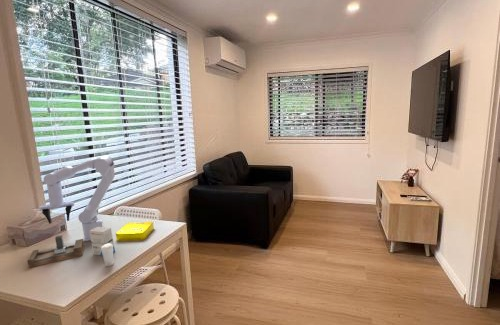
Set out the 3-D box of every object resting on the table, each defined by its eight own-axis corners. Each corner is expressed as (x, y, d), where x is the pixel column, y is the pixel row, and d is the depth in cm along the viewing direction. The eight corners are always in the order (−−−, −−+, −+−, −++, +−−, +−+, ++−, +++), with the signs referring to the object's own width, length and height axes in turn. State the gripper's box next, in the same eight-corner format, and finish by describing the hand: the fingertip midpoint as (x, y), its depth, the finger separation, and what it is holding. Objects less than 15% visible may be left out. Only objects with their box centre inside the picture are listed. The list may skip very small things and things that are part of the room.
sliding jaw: (67, 248, 133) (64, 233, 132) (65, 253, 128) (62, 238, 127) (57, 250, 132) (54, 235, 130) (55, 255, 126) (52, 240, 125)
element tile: (155, 228, 157) (154, 220, 156) (144, 240, 142) (143, 231, 141) (128, 229, 157) (127, 221, 156) (115, 242, 142) (113, 233, 141)
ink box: (115, 251, 131) (111, 227, 129) (107, 256, 127) (103, 232, 125) (101, 249, 134) (97, 226, 132) (92, 254, 130) (88, 230, 128)
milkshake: (104, 262, 122) (100, 240, 120) (117, 261, 122) (113, 239, 120) (99, 268, 117) (96, 245, 116) (113, 266, 118) (109, 244, 116)
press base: (84, 246, 138) (82, 238, 138) (82, 255, 129) (80, 247, 129) (34, 257, 130) (32, 249, 129) (28, 267, 121) (26, 258, 120)
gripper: (36, 200, 136) (40, 227, 138) (71, 195, 142) (75, 221, 144) (39, 196, 142) (43, 222, 144) (73, 192, 148) (76, 217, 150)
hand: (59, 221), depth 145 cm, fingers open, 7 cm apart
